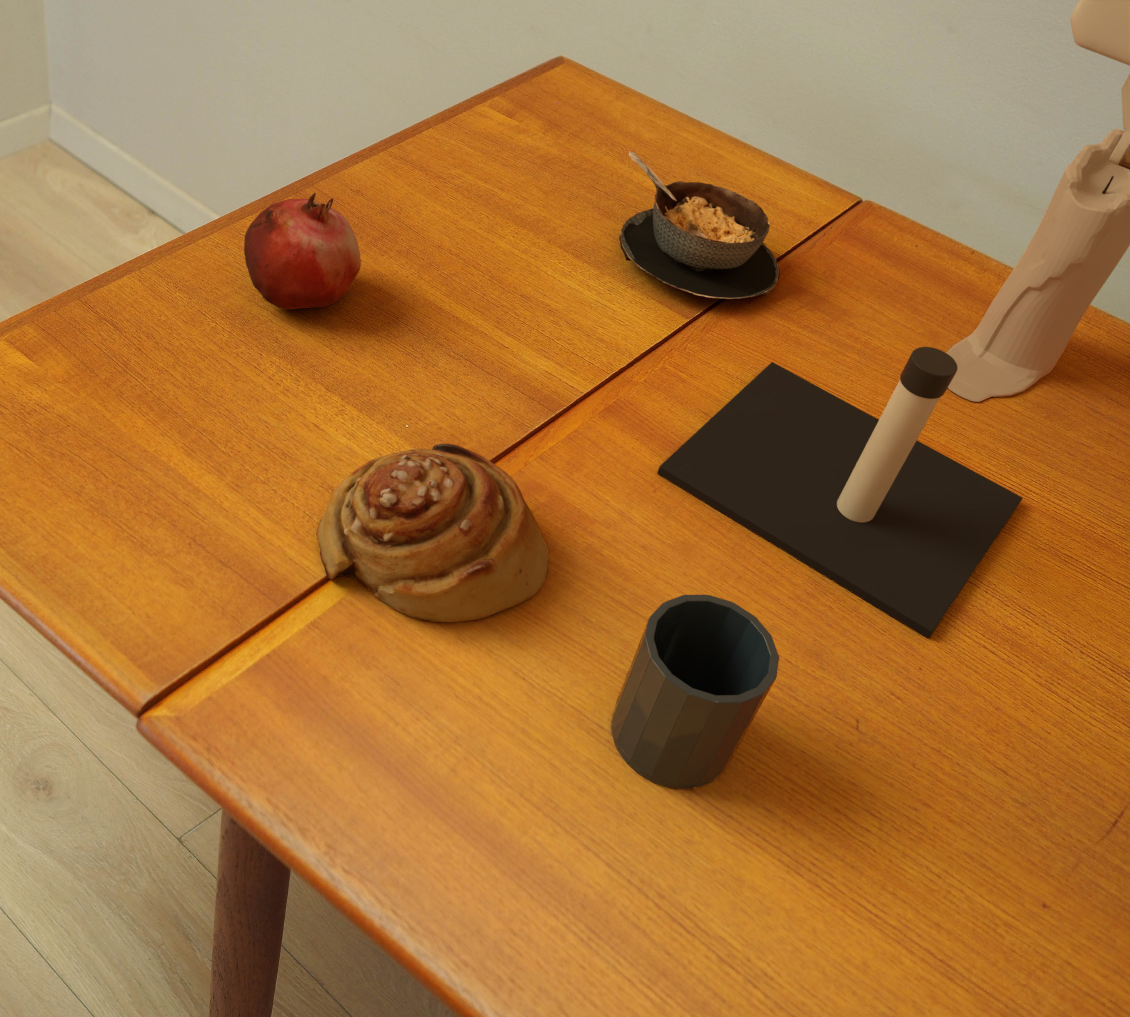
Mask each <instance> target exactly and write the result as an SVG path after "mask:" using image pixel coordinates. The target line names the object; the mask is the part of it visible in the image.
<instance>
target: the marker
mask: <svg viewBox="0 0 1130 1017" xmlns="http://www.w3.org/2000/svg"><path fill="white" fill-rule="evenodd" d="M956 372H957V363H956V362H955V360H954V359H953V358H952V357H951V356H950V355H948V354H947V353H946V352H945V351H944V350H941V349H939V348H936V347H933V346H919V347H917V348H915V349H914V350H912V352H911V354H910V356H909V358H908V360H907V361H906V363H905V365H904V367H903V369H902V372H900V377H899V381H898V382H897V385H896V386H895V387H894V390H893V392H892V394H891V396H890V397H889V400H888V402H887V403H886V405H885V407H884V410H883V411H882V413H881V415H880V417H879V418H878V419H879V421H878V423H877V425H876V427H875V429H874V431H873V433H872V435H871V437H870V438H869V440H868V442H867V444H866V446H865V448H864V450H863V452H862V454H861V456H860V458H859V460H858V462H857V464H856V466H855V468H854V469H853V471H852V473H851V475H850V477H849V479H848V481H847V483H846V485H845V487H844V489H843V491H842V493H841V495H840V497H839V499H838V501H837V507H838V510H839V511H840V513H841V514H842V515H843V516H845V517H846V518H848V519H850V520H852V521H855V522H861V523H862V522H868V521H870V520H872V519H873V517H874V516H875V514H876V512H877V510H878V509H879V507H880V505H881V503H882V501H883V500H884V498H885V496H886V494H887V492H888V491H889V489H890V487H891V485H892V483H893V482H894V480H895V478H896V476H897V474H898V473H899V471H900V469H901V467H902V466H903V464H904V462H905V460H906V458H907V457H908V455H909V453H910V451H911V449H912V448H913V446H914V444H915V442H916V440H917V441H918V439H919V437H920V435H921V433H922V432H923V430H924V428H925V426H926V424H927V422H928V420H929V419H930V417H931V415H932V414H933V412H934V410H935V408H936V406H937V405H938V403H939V401H940V399H941V397H943V396H944V395H945V393H946V392H947V390H948V386H949V384H950V383H951V381H952V379H953V377H954V376H955V374H956Z"/></svg>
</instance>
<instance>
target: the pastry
mask: <svg viewBox="0 0 1130 1017" xmlns="http://www.w3.org/2000/svg"><path fill="white" fill-rule="evenodd" d="M327 502H328V503H327V506H326V510H325V512H324V513H323V515H322V517H321V518H320V520H319V523H318V526H317V529H316V532H315V535H316V536H315V537H316V540H317V542H318V546H319V557H320V561H321V562H322V565H323V567H324V572H325V575H326V576H327V579H329V580H335V579H336V578H337V577H341V576H344V577H350V578H353V579H356V581H357V580H358V582H360V583H361V584H363V585H364V586H365V588H366V589H368V590H369V591H370V593H371V594H372V595H373V596H374V597H376V598H377V599H379V600H380V601H382V602H383V603H385V604H386V605H388V606H389V607H391V608H392V609H394V610H396V611H398V612H400V613H402V614H404V615H406V616H408V617H412V618H415V619H419V620H425V621H430V622H437V623H460V622H461V623H463V622H470V621H477V620H482V619H484V618H487V617H490V616H493V615H494V614H497V613H499V612H502V611H504V610H507V609H509V608H512V607H515V606H517V605H519V604H522V603H523V602H525V601H527V600H529V599H531V598H532V597H534V596H535V595H536V594H537V593H538V592H539V591H540V590H541V588H542V586H543V585H544V583H545V580H546V577H547V574H548V571H549V570H548V568H549V549H548V545H547V543H546V541H545V540H544V537H543V535H542V532H541V530H540V526H539V525H538V522H537V521H536V519H535V516H534V514H533V512H532V510H531V508H530V506H529V505H528V503H527V502H526V500H525V498H524V496H523V494H522V491H521V489H520V488H519V486H518V484H517V482H516V481H515V480H514V479H513V478H512V476H510V475H509V474H508V472H506V471H505V470H504V469H502V468H500V467H499V466H498V465H496V464H495V463H493V462H492V461H490V460H489V459H487V458H486V457H484V456H483V455H481V454H479V453H476V452H475V451H473V450H470V449H467V448H465V447H463V446H460V445H457V444H453V443H438V444H435V445H433V446H432V448H431V449H428V448H413V449H407V450H402V451H398V452H393V453H389V454H386V455H381V456H377V457H375V458H372V459H370V460H368V461H367V462H365V463H363V464H362V465H361V466H359V467H357V468H356V469H354V470H353V471H352V472H351V473H350V474H349V475H348V476H347V477H345V478H344V480H342V481H341V482H340V483H339V484H338V485H336V487H335V488H334V489H333V491H332V492H331V494H330V497H329V499H328V501H327Z"/></svg>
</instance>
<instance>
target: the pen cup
mask: <svg viewBox="0 0 1130 1017" xmlns="http://www.w3.org/2000/svg"><path fill="white" fill-rule="evenodd" d="M779 661H780V656H779V653H778V650H777V646H776V643H775V642H774V639H773V636H772V634H771V633H770V632H769V631H768V630H767V628H766V627H765V626H764V625H763V623H761V621H760V620H759V619H758V617H756V616H755V615H754V614H752V613H751V612H749V611H748V610H746V609H744V608H743V607H741V605H739V604H737V603H735V602H733V601H730V600H727V599H724V598H720V597H718V596H715V595H711V594H681V595H679V596H677V597H674V598H672V599H671V598H670V599H669V600H666V601H664V602H662V603H661V604H660V605H659V606H658V607H657V608H656V609H655V610H654V611H653V613H652V614H651V615H649V617H648V620H647V622H646V625H645V628H644V630H643V632H642V635H641V638H640V640H639V643H638V645H637V648H636V651H635V653H634V656H633V659H632V661H631V664H630V666H629V668H628V672H627V674H626V677H625V679H624V682H623V684H622V687H621V689H620V692H619V695H618V697H617V699H616V703H615V706H614V709H613V713H612V715H611V723H610V724H611V736H612V740H613V743H614V745H615V747H616V750H617V751H618V753H619V755H620V756H621V758H622V759H623V760H624V762H625V763H626V764H627V765H628V766H629V767H630V768H631V769H632V770H633V771H634V772H635V773H637V774H638V775H640V776H641V777H642V778H644V779H645V780H647V781H650V782H652V783H654V784H657V785H659V786H662V787H666V788H670V789H675V790H676V789H677V790H688V789H696V788H701V787H703V786H706V785H708V784H710V783H712V782H713V781H715V780H716V779H718V778H719V777H720V776H721V775H722V774H723V772H725V770H726V768H727V766H728V765H729V763H730V762H731V761H732V760H733V758H734V756H735V754H736V752H737V750H738V749H739V748H740V747H739V746H740V745H741V743H742V742H743V740H744V738H745V736H746V735H747V733H748V731H749V729H750V727H751V726H752V723H753V721H754V720H755V718H756V716H757V714H758V713H759V711H760V709H761V707H762V705H763V703H764V702H765V699H766V698H767V697H768V694H769V692H770V691H771V689H772V686H773V685H774V683H775V681H776V679H777V677H778V670H779Z"/></svg>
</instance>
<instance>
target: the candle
mask: <svg viewBox="0 0 1130 1017" xmlns="http://www.w3.org/2000/svg"><path fill="white" fill-rule="evenodd" d="M1124 132H1125V129H1120V128H1114V129H1112V130H1111V131H1110V132H1109V133H1108V134H1107V135H1106V136H1105V137H1104V139H1103V140H1102V141H1101V142H1098V143H1095V144H1094V143H1093V144H1086V145H1085V146H1083V147H1082V148H1081V150H1080V151H1079V152H1078V153H1077V154H1076V156H1075V157H1074V158H1073V160H1072V161H1071V163H1069V164H1068V165H1067V166H1066V168H1065V170H1064V172H1063V174H1062V176H1061V178H1060V180H1059V181H1058V185H1057V187H1056V189H1055V191H1054V193H1053V196H1052V198H1051V200H1050V202H1049V205H1048V206H1047V209H1046V210H1045V213H1044V215H1043V217H1042V219H1041V221H1040V223H1039V225H1038V227H1037V229H1036V231H1035V233H1034V234H1033V236H1032V238H1031V240H1030V242H1029V243H1028V245H1027V247H1026V249H1025V250H1024V252H1023V254H1022V255H1021V257H1020V258H1019V259H1018V261H1017V263H1016V264H1015V266H1014V268H1013V269H1012V271H1011V272H1010V273H1009V275H1008V277H1007V278H1006V280H1005V281H1004V282H1003V284H1002V285H1001V287H1000V288H999V290H998V292H997V293H996V295H995V297H994V298H993V300H992V302H991V303H990V305H989V306H988V308H987V310H986V312H985V313H984V315H983V317H982V319H981V320H980V322H979V323H978V325H977V326H976V328H975V329H974V330H973V331H972V333H970V334H969V335H968V336H965V337H964V338H963V339H961V340H960V341H957V343H955V344H953V345H952V346H951V347H950V348H949V349H948V350H947V351H946V352H945V353H947V354H948V355H950V356H951V357H952V358H953V359H954V360H955V362H956V363H957V372H956V374H955V376H954V377H953V379H952V381H951V383H950V384H949V386H948V388H947V390H949V391H951V392H953V394H955V395H957V396H959V397H961V398H963V399H966V400H968V401H971V402H974V403H975V402H976V403H977V402H978V403H980V402H982V401H984V400H987V399H989V398H991V397H997V398H998V397H999V398H1001V397H1012V396H1014V395H1017V394H1020V393H1022V392H1025V391H1026V390H1028V389H1029V388H1031V386H1033V385H1034V384H1036V383H1037V382H1038V381H1039V380H1040V379H1042V378H1043V377H1045V376H1048V375H1049V374H1050V373H1051V372H1052V371H1053V370H1054V368H1055V366H1056V365H1057V363H1058V361H1059V360H1060V358H1061V356H1062V354H1063V353H1064V352H1065V350H1066V348H1067V346H1068V344H1069V342H1070V340H1071V338H1072V337H1073V335H1074V332H1075V330H1076V329H1077V327H1078V325H1079V323H1080V322H1081V320H1082V319H1083V317H1084V315H1085V313H1086V312H1087V310H1088V308H1089V307H1090V305H1092V302H1093V301H1094V300H1095V298H1096V297H1097V295H1098V294H1099V292H1100V291H1101V290H1102V288H1103V287H1104V285H1105V284H1106V282H1107V281H1108V279H1109V277H1111V275H1112V273H1113V272H1114V270H1116V267H1117V266H1118V264H1119V263H1120V261H1121V259H1123V257H1124V255H1125V254H1126V252H1127V251H1128V249H1129V247H1130V170H1129V169H1126V168H1124V167H1121V166H1119V165H1115V164H1113V163H1111V162H1109V158H1110V156H1111V155H1112V153H1113V151H1114V149H1115V148H1116V146H1117V144H1118V142H1119V141H1120V139H1121V137H1122V136H1123V134H1124Z"/></svg>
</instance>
